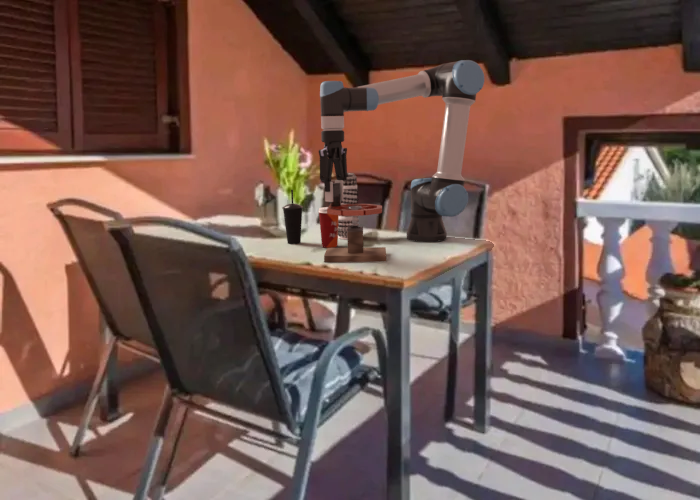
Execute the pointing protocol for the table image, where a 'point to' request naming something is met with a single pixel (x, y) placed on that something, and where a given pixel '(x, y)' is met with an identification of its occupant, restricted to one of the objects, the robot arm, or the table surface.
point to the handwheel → (350, 207)
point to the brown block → (355, 250)
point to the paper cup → (328, 228)
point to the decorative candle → (348, 198)
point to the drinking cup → (293, 221)
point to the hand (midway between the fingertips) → (334, 200)
